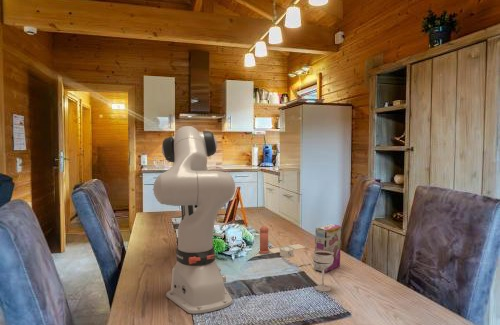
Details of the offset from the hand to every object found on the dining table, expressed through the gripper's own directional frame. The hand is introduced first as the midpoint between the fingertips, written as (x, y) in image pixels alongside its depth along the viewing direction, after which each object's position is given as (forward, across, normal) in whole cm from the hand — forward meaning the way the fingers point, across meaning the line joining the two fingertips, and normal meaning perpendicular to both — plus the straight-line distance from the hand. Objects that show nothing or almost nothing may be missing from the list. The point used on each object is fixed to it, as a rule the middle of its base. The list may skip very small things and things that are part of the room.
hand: (246, 236), depth 150 cm
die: (+20, +1, +7) cm, 21 cm away
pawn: (+9, 0, +5) cm, 11 cm away
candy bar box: (+38, -1, +7) cm, 39 cm away
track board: (+12, +5, +6) cm, 15 cm away
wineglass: (+43, -19, +7) cm, 48 cm away
